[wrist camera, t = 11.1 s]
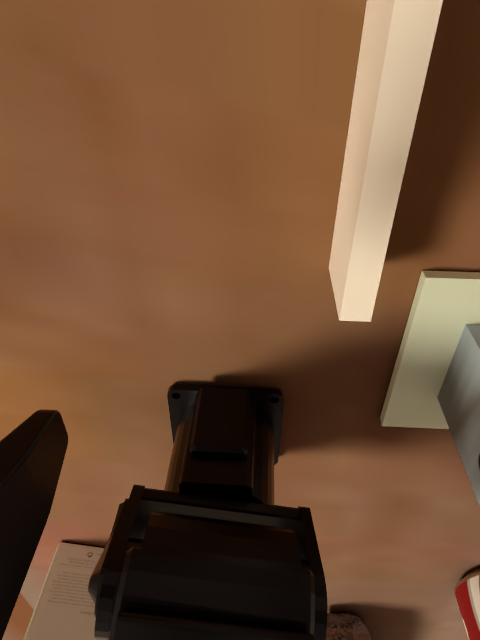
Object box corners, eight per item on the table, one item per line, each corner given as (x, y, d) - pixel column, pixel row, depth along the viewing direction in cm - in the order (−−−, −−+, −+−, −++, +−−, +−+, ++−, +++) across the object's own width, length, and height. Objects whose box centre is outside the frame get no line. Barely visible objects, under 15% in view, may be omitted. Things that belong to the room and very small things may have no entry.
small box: (59, 538, 38) (-2, 700, 29) (127, 548, 38) (86, 711, 30) (62, 581, 42) (11, 730, 34) (122, 589, 43) (87, 739, 35)
